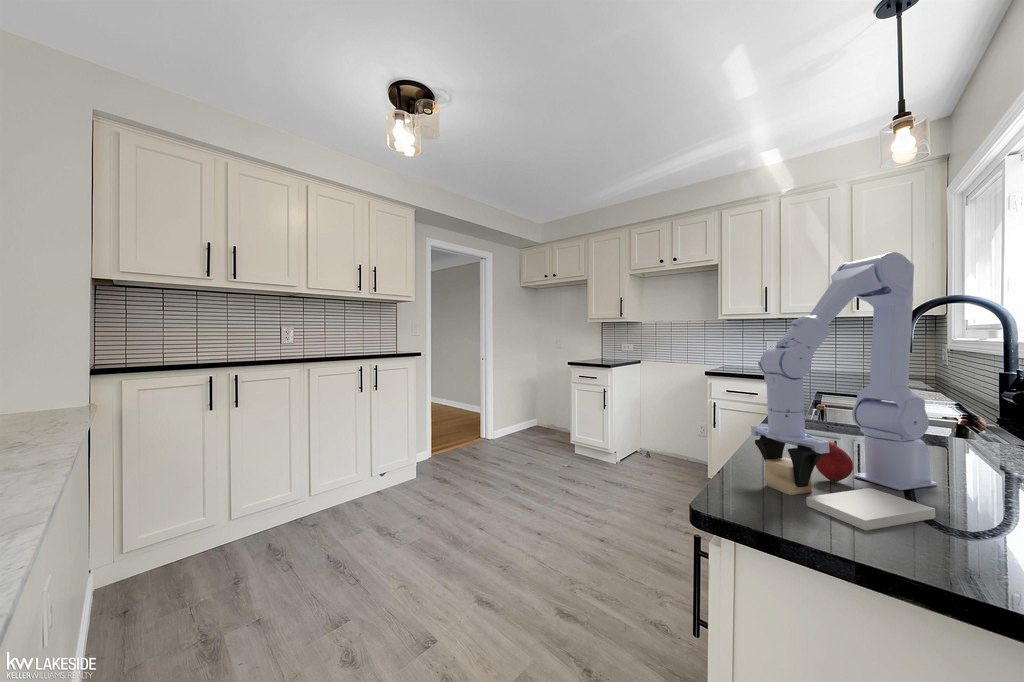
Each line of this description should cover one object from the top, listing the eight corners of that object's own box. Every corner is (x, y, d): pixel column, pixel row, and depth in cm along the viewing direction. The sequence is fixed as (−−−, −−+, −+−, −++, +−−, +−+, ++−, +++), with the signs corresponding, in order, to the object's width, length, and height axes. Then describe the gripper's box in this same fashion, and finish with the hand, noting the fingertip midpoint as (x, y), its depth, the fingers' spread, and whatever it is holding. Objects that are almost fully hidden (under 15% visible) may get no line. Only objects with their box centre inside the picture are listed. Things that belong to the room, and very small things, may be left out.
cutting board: (870, 496, 68) (870, 487, 68) (935, 518, 60) (935, 508, 60) (806, 505, 65) (806, 497, 65) (865, 530, 57) (865, 520, 57)
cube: (787, 482, 76) (786, 457, 76) (811, 491, 71) (810, 465, 71) (766, 485, 75) (765, 459, 75) (789, 495, 70) (788, 467, 70)
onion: (861, 488, 72) (859, 445, 72) (826, 487, 73) (824, 445, 73) (841, 477, 78) (839, 438, 78) (809, 476, 79) (807, 437, 79)
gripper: (737, 405, 79) (740, 471, 79) (804, 418, 65) (807, 498, 65) (766, 403, 81) (768, 467, 81) (837, 415, 67) (840, 493, 67)
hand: (788, 481), depth 73 cm, fingers closed on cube, 5 cm apart
